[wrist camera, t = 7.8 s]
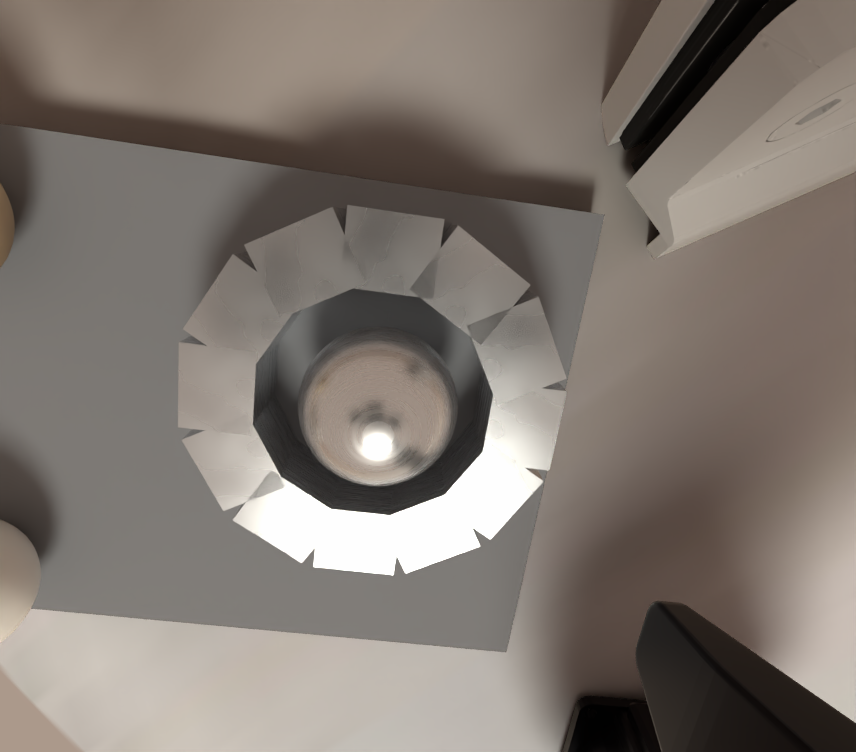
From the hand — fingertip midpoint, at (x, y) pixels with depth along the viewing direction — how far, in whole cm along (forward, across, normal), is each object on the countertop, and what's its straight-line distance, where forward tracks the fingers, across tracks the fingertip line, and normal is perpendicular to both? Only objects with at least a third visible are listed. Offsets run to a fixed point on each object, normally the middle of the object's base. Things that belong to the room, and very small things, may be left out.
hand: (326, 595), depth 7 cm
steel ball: (+8, 0, 0) cm, 8 cm away
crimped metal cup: (+10, 0, 0) cm, 10 cm away
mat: (+11, +4, +2) cm, 12 cm away
